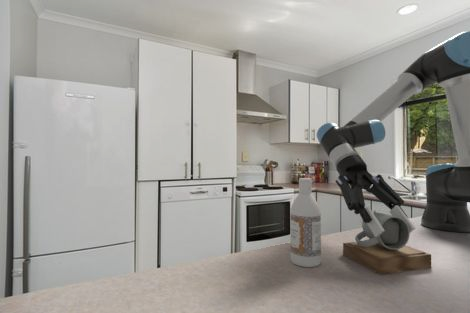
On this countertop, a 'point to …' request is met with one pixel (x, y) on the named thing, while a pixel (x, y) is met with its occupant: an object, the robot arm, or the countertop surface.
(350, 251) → the walnut base
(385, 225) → the ceramic mug
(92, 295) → the countertop surface
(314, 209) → the bath foam
